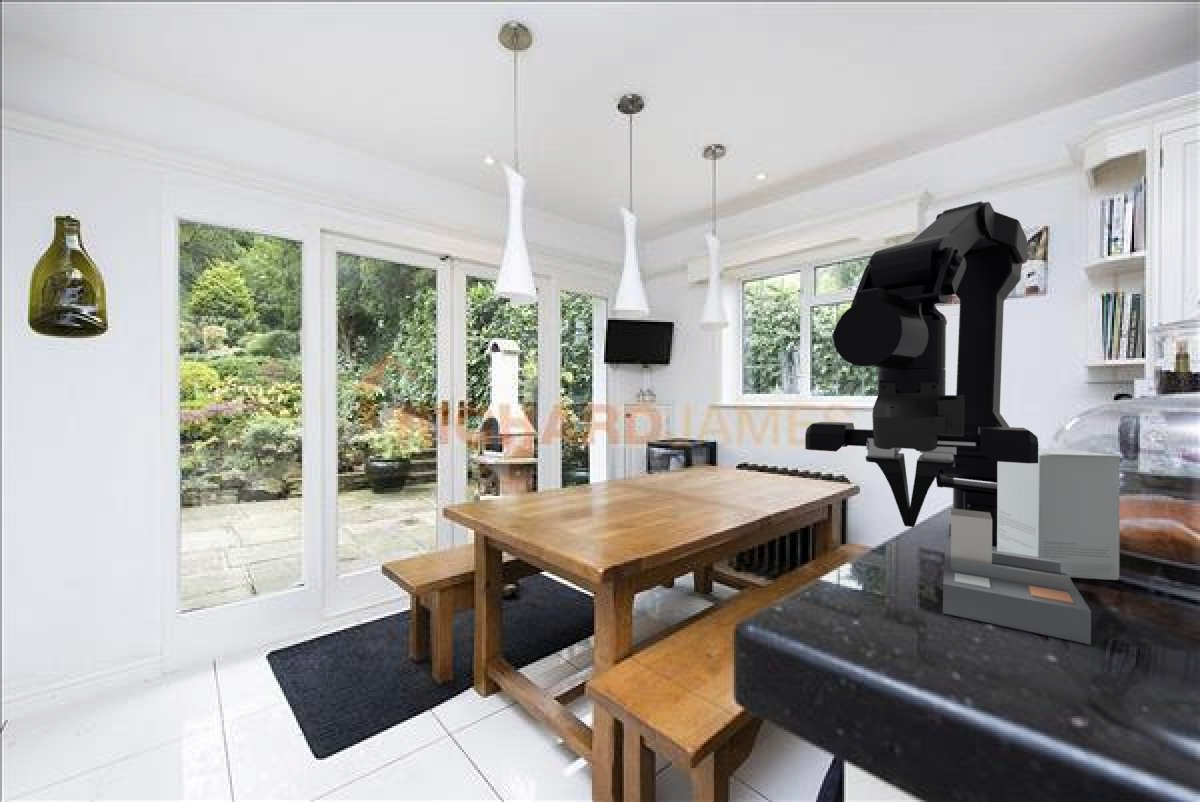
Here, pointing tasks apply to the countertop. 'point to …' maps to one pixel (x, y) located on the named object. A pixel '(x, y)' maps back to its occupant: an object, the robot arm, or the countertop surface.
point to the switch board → (1016, 595)
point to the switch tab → (971, 535)
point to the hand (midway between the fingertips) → (909, 526)
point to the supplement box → (1062, 510)
